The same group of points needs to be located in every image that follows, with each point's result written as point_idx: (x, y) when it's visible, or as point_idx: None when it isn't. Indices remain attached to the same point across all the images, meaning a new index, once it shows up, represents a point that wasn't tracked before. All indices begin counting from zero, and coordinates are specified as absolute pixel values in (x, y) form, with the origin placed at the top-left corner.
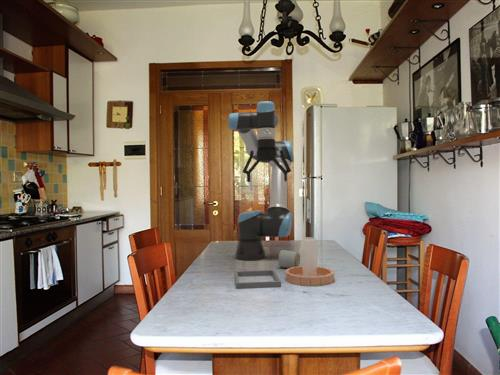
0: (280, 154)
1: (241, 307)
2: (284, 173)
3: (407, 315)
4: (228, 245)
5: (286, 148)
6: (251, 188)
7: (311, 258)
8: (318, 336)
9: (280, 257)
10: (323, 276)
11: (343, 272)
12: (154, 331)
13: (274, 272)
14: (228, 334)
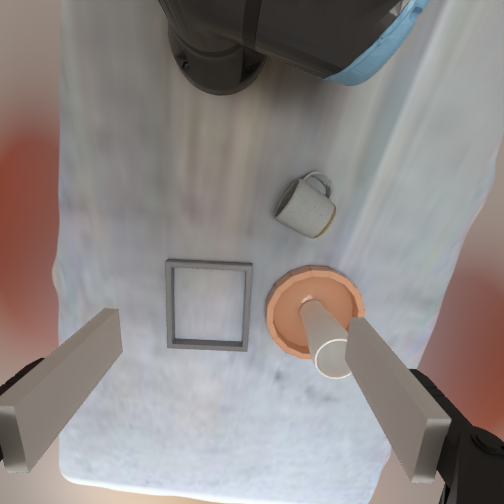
0: None
1: (175, 421)
2: (446, 472)
3: (365, 471)
4: None
5: None
6: (111, 358)
7: (321, 349)
8: (247, 500)
9: (280, 220)
10: None
11: (399, 273)
12: (79, 470)
13: (248, 286)
14: (159, 486)
